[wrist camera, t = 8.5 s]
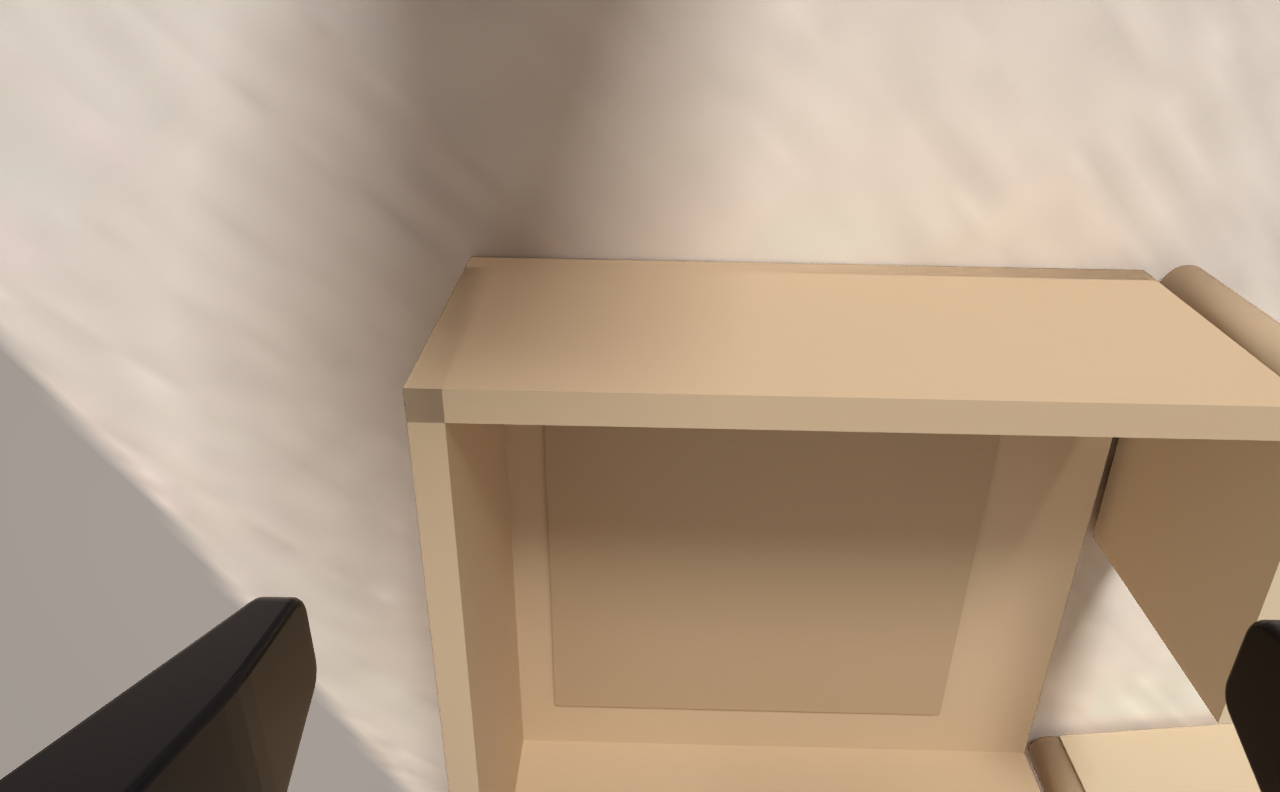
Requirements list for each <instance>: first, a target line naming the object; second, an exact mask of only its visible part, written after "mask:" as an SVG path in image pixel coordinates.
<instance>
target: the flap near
mask: <svg viewBox="0 0 1280 792" xmlns="http://www.w3.org/2000/svg"><path fill="white" fill-rule="evenodd" d="M1161 284H1162V285H1163V286H1164V287H1166V288H1167V289H1168V290H1170V291H1171V292H1172V293H1173V294H1175V295H1176V296H1177V297H1178V298H1180V299H1181V300H1182V301H1184V302H1185V303H1186V304H1187V305H1189V306H1190V307H1191V308H1192V309H1194V310H1195V311H1196V312H1198V313H1199V314H1200V315H1201V316H1203V317H1204V318H1205V319H1207V320H1208V321H1209V322H1210V323H1212V324H1213V325H1214V326H1215V327H1217V328H1218V329H1219V330H1221V331H1222V332H1223V333H1224V334H1226V335H1227V336H1228V337H1230V338H1231V339H1232V340H1233V341H1235V342H1236V343H1237V344H1238V345H1240V346H1241V347H1242V348H1244V349H1245V350H1246V351H1247V352H1249V353H1250V354H1251V355H1252V356H1254V357H1255V358H1256V359H1258V360H1259V361H1260V362H1261V363H1263V364H1264V365H1265V366H1267V367H1268V368H1269V369H1270V370H1272V371H1273V372H1274V373H1275V374H1277V375H1278V376H1279V377H1280V323H1279V322H1277V321H1276V320H1274V319H1273V318H1271V317H1270V316H1269V315H1267V314H1266V313H1264V312H1263V311H1261V310H1260V309H1259V308H1257V307H1256V306H1254V305H1253V304H1251V303H1250V302H1248V301H1247V300H1246V299H1244V298H1243V297H1241V296H1240V295H1238V294H1237V293H1236V292H1234V291H1233V290H1231V289H1230V288H1228V287H1227V286H1225V285H1224V284H1223V283H1221V282H1220V281H1218V280H1217V279H1215V278H1214V277H1213V276H1211V275H1210V274H1208V273H1207V272H1205V271H1204V270H1203V269H1201V268H1199V267H1197V266H1193V265H1185V266H1180V267H1178V268H1175V269H1174V270H1172V271H1170V272H1169V273H1168V274H1167V275H1166V276H1165V277H1164V278H1163V280H1162V281H1161ZM1093 537H1094V539H1095V540H1096V542H1097V543H1098V545H1099V546H1100V548H1101V549H1102V551H1103V552H1104V554H1105V555H1106V557H1107V558H1108V560H1109V561H1110V563H1111V564H1112V566H1113V567H1114V569H1115V570H1116V571H1117V573H1118V574H1119V576H1120V577H1121V579H1122V580H1123V582H1124V583H1125V585H1126V586H1127V588H1128V589H1129V591H1130V592H1131V594H1132V595H1133V597H1134V598H1135V600H1136V601H1137V603H1138V604H1139V606H1140V607H1141V609H1142V610H1143V612H1144V613H1145V615H1146V616H1147V618H1148V619H1149V621H1150V622H1151V624H1152V625H1153V627H1154V628H1155V630H1156V631H1157V633H1158V634H1159V636H1160V637H1161V639H1162V640H1163V642H1164V643H1165V645H1166V646H1167V648H1168V649H1169V651H1170V652H1171V654H1172V655H1173V656H1174V658H1175V659H1176V661H1177V662H1178V664H1179V665H1180V667H1181V668H1182V670H1183V671H1184V673H1185V674H1186V676H1187V677H1188V679H1189V680H1190V682H1191V683H1192V685H1193V686H1194V688H1195V689H1196V691H1197V692H1198V694H1199V695H1200V697H1201V698H1202V700H1203V701H1204V703H1205V704H1206V706H1207V707H1208V709H1209V710H1210V712H1211V713H1212V715H1213V716H1214V718H1215V719H1216V721H1217V722H1218V723H1233V722H1232V720H1231V717H1230V715H1229V712H1228V709H1227V705H1226V700H1225V688H1226V682H1227V679H1228V677H1229V674H1230V672H1231V669H1232V667H1233V664H1234V662H1235V659H1236V656H1237V654H1238V651H1239V649H1240V646H1241V644H1242V641H1243V639H1244V636H1245V634H1246V632H1247V630H1248V628H1249V627H1250V626H1251V625H1252V624H1253V623H1254V622H1256V621H1259V620H1280V441H1262V440H1215V439H1168V438H1121V437H1119V439H1118V443H1117V447H1116V451H1115V455H1114V458H1113V462H1112V466H1111V470H1110V473H1109V477H1108V481H1107V485H1106V489H1105V492H1104V496H1103V500H1102V504H1101V507H1100V511H1099V515H1098V519H1097V523H1096V526H1095V530H1094V534H1093Z"/></svg>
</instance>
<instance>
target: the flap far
mask: <svg viewBox="0 0 1280 792" xmlns="http://www.w3.org/2000/svg"><path fill="white" fill-rule="evenodd" d="M1028 755H1029V757H1030V759H1031V762H1032V764H1033V767H1034V769H1035V771H1036V774H1037V776H1038V778H1039V781H1040V783H1041V785H1042V788H1043V790H1044V792H1261V791H1260V789H1259V786H1258V784H1257V781H1256V779H1255V776H1254V774H1253V771H1252V769H1251V767H1250V764H1249V762H1248V759H1247V757H1246V754H1245V752H1244V749H1243V747H1242V744H1241V742H1240V739H1239V737H1238V735H1237V732H1236V730H1235V727H1234V725H1233V724H1220V725H1206V726H1191V727H1177V728H1162V729H1148V730H1133V731H1119V732H1104V733H1090V734H1076V735H1061V736H1059V738H1057V737H1053V736H1047V737H1042V738H1039V739H1037V740H1035V741H1034V742H1033V743H1032V744H1031V745H1030V746H1029V749H1028Z"/></svg>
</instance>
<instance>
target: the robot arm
mask: <svg viewBox="0 0 1280 792" xmlns="http://www.w3.org/2000/svg"><path fill="white" fill-rule="evenodd" d="M316 672H317V669H316V659H315V653H314V648H313V643H312V638H311V632H310V627H309V622H308V616H307V611H306V608H305V606H304V604H303V602H302V601H301V600H299V599H297V598H294V597H259V598H257V599H255V600H253V601H251V602H250V603H248V604H247V605H245V606H244V607H243V608H241V609H240V610H238V611H237V612H235V614H233V615H231V616H230V617H228V618H227V619H226V620H224V621H223V622H222V623H220V624H219V625H217V626H216V627H214V628H213V629H212V630H211V631H209V632H207V633H206V634H205V635H203V636H202V637H200V638H199V639H198V640H196V641H195V642H193V643H192V644H191V645H189V646H188V647H187V648H185V649H184V650H182V651H181V652H179V653H178V654H177V655H175V656H174V657H172V658H171V659H169V660H168V661H167V662H165V663H164V664H162V665H161V666H160V667H158V668H157V669H156V670H154V671H153V672H151V673H150V674H148V675H147V676H146V677H144V678H143V679H142V680H140V681H139V682H137V683H136V684H135V685H133V686H132V687H130V688H129V689H127V690H126V691H125V692H123V693H122V694H120V695H119V696H118V697H116V698H115V699H113V700H112V701H111V702H109V703H108V704H106V705H105V706H104V707H102V708H101V709H99V710H98V711H96V712H95V713H94V714H92V715H91V716H90V717H88V718H87V719H85V720H84V721H82V722H81V723H80V724H78V725H77V726H75V727H74V728H73V729H71V730H70V731H68V732H67V733H66V734H64V735H63V736H61V737H60V738H59V739H57V740H56V741H54V742H53V743H52V744H50V745H49V746H47V747H46V748H45V749H43V750H42V751H40V752H39V753H37V754H36V755H35V756H33V757H32V758H30V759H29V760H28V761H26V762H25V763H23V764H22V765H21V766H19V767H18V768H17V769H15V770H14V771H12V772H11V773H9V774H8V775H7V776H5V777H4V778H2V779H1V780H0V792H287V789H288V786H289V782H290V778H291V774H292V770H293V767H294V763H295V759H296V756H297V752H298V748H299V744H300V741H301V737H302V733H303V729H304V725H305V722H306V718H307V714H308V711H309V707H310V703H311V699H312V696H313V692H314V688H315V682H316ZM1225 700H1226V705H1227V709H1228V712H1229V715H1230V717H1231V720H1232V722H1233V725H1234V727H1235V730H1236V732H1237V735H1238V737H1239V739H1240V742H1241V744H1242V747H1243V749H1244V752H1245V754H1246V757H1247V759H1248V762H1249V764H1250V767H1251V769H1252V771H1253V774H1254V776H1255V779H1256V781H1257V784H1258V786H1259V789H1260V791H1261V792H1280V620H1259V621H1256V622H1254V623H1253V624H1252V625H1251V626H1250V627H1249V628H1248V630H1247V632H1246V634H1245V636H1244V639H1243V641H1242V644H1241V646H1240V649H1239V651H1238V654H1237V656H1236V659H1235V662H1234V664H1233V667H1232V669H1231V672H1230V674H1229V677H1228V679H1227V682H1226V688H1225Z"/></svg>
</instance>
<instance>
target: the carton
mask: <svg viewBox="0 0 1280 792" xmlns="http://www.w3.org/2000/svg"><path fill="white" fill-rule="evenodd" d="M403 394H404V402H405V411H406V420H407V429H408V438H409V446H410V455H411V464H412V473H413V481H414V490H415V499H416V508H417V517H418V525H419V534H420V543H421V552H422V561H423V569H424V578H425V587H426V596H427V605H428V613H429V622H430V631H431V640H432V648H433V657H434V666H435V675H436V684H437V692H438V701H439V710H440V719H441V728H442V736H443V745H444V754H445V763H446V771H447V780H448V789H449V792H1041V791H1040V789H1039V786H1038V784H1037V781H1036V779H1035V777H1034V774H1033V772H1032V770H1031V767H1030V765H1029V763H1028V760H1027V758H1026V755H1025V753H1024V752H1025V748H1026V745H1027V741H1028V738H1029V734H1030V731H1031V727H1032V724H1033V720H1034V716H1035V713H1036V709H1037V706H1038V702H1039V699H1040V695H1041V691H1042V688H1043V684H1044V681H1045V677H1046V674H1047V670H1048V667H1049V663H1050V659H1051V656H1052V652H1053V649H1054V645H1055V642H1056V638H1057V634H1058V631H1059V627H1060V624H1061V620H1062V617H1063V613H1064V609H1065V606H1066V602H1067V599H1068V595H1069V592H1070V588H1071V585H1072V581H1073V577H1074V574H1075V570H1076V567H1077V563H1078V560H1079V556H1080V552H1081V549H1082V545H1083V542H1084V538H1085V535H1086V531H1087V527H1088V524H1089V520H1090V517H1091V513H1092V510H1093V506H1094V503H1095V499H1096V495H1097V492H1098V488H1099V485H1100V481H1101V478H1102V474H1103V470H1104V467H1105V463H1106V460H1107V456H1108V453H1109V449H1110V445H1111V442H1112V438H1113V437H1121V438H1168V439H1215V440H1262V441H1280V377H1279V376H1278V375H1277V374H1275V373H1274V372H1273V371H1272V370H1270V369H1269V368H1268V367H1267V366H1265V365H1264V364H1263V363H1261V362H1260V361H1259V360H1258V359H1256V358H1255V357H1254V356H1252V355H1251V354H1250V353H1249V352H1247V351H1246V350H1245V349H1244V348H1242V347H1241V346H1240V345H1238V344H1237V343H1236V342H1235V341H1233V340H1232V339H1231V338H1230V337H1228V336H1227V335H1226V334H1224V333H1223V332H1222V331H1221V330H1219V329H1218V328H1217V327H1215V326H1214V325H1213V324H1212V323H1210V322H1209V321H1208V320H1207V319H1205V318H1204V317H1203V316H1201V315H1200V314H1199V313H1198V312H1196V311H1195V310H1194V309H1192V308H1191V307H1190V306H1189V305H1187V304H1186V303H1185V302H1184V301H1182V300H1181V299H1180V298H1178V297H1177V296H1176V295H1175V294H1173V293H1172V292H1171V291H1170V290H1168V289H1167V288H1166V287H1164V286H1163V285H1162V284H1161V283H1159V282H1158V281H1157V280H1155V279H1154V278H1153V277H1152V276H1150V275H1149V274H1148V273H1147V272H1145V271H1144V270H1109V269H1058V268H1007V267H956V266H904V265H853V264H802V263H751V262H699V261H648V260H597V259H546V258H495V257H471V258H470V260H469V262H468V264H467V266H466V268H465V270H464V272H463V274H462V275H461V277H460V279H459V281H458V283H457V285H456V287H455V289H454V291H453V293H452V295H451V297H450V299H449V300H448V302H447V304H446V306H445V308H444V310H443V312H442V314H441V316H440V318H439V320H438V322H437V324H436V325H435V327H434V329H433V331H432V333H431V335H430V337H429V339H428V341H427V343H426V345H425V347H424V349H423V350H422V352H421V354H420V356H419V358H418V360H417V362H416V364H415V366H414V368H413V370H412V372H411V374H410V375H409V377H408V379H407V381H406V383H405V385H404V387H403Z"/></svg>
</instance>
